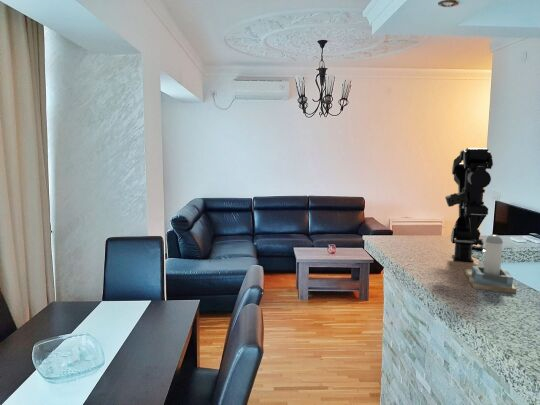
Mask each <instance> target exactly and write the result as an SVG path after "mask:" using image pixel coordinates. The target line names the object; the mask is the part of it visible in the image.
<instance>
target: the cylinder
mask: <svg viewBox="0 0 540 405" xmlns="http://www.w3.org/2000/svg"><path fill="white" fill-rule="evenodd" d="M484 248H485V251H484V258H483V267H484V268H483V273H485V274H495V275H500V268H502V267H501V265H502V256H503V255H502V253H503V239H502V237H501V236H499V235H498V234H490V235H488V236H487V237H486V239H485V247H484Z"/></svg>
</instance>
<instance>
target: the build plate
mask: <svg viewBox="0 0 540 405" xmlns="http://www.w3.org/2000/svg"><path fill="white" fill-rule="evenodd" d="M484 244H485V242H484V239H483V238H479V244H478V245H472V251H479V252H485V247H484Z"/></svg>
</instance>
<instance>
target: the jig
mask: <svg viewBox="0 0 540 405" xmlns="http://www.w3.org/2000/svg"><path fill="white" fill-rule="evenodd" d="M483 268H484V265H483V266H482V265H471V269H469V268H465V271H464V273H465V275H466V277H467V279H468V281H469V283H470V285H471V287H472V288H473V289H475V290H483V291H493V292H503V293H513V294H516V293H517V287H516V286H515V285H514V284H513V282H514V277H513V276H512V274H511V273H510V272H509V271H508V270H507V269H506V268H504V267H500V275H495V274H485V273H483Z"/></svg>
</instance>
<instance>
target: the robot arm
mask: <svg viewBox="0 0 540 405" xmlns="http://www.w3.org/2000/svg"><path fill="white" fill-rule="evenodd" d="M493 166H494V162H493V155H492V154H491V151H490V150H489V148H487V147H467V148H466V149H462V150H460V152H459V155H457V157H455V159H454V160H453V163H452V167H451V175H453V181H454V182H455V184H456V185H457V188H458V189H457V190H458V192H457V193H455V192H454V193H451V194H450V195H446V196H445V201H446V204H447V206H448V207H449V208H450V207H454V206H455V205H458V218H457V219H456V221H455V224H454V226H453V227H452V230H451V235H450V241H451V244H455V245H454V254H452V255H451V257H452V259H453V261H458V262H468V263H469V262H470V263H473V262H474V259H473V257H472V254H473V253H472V252H473V250H472V245H473V246H478V245H479V239H481V232H480V229H479V227H480V226H481V224H482V223H483V221H484V220H485V219H486V217H487V215H489V208H488V207H487V206H486V205H485V203H484V201H483V200H484V194H485V192H486V189H485V188H486V187H488V186H489V185H490V183H491V181H492V177H491V174H490V173H489V171H487V170H492V167H493Z"/></svg>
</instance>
